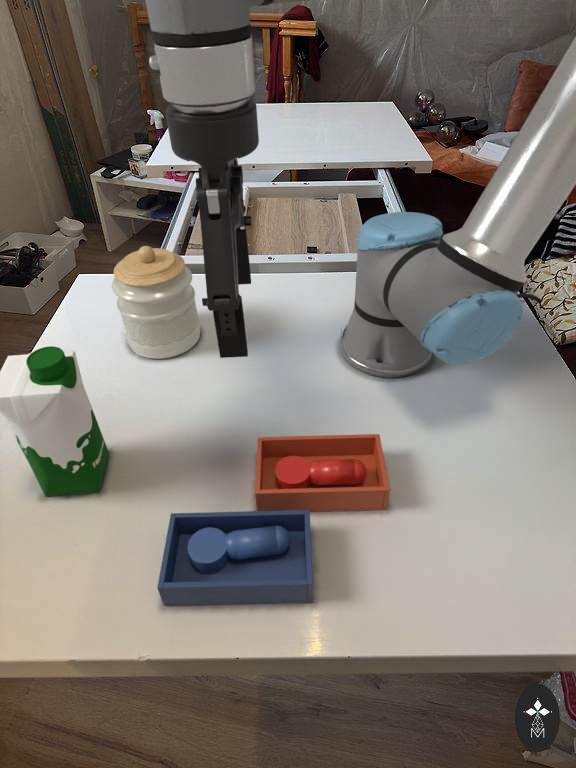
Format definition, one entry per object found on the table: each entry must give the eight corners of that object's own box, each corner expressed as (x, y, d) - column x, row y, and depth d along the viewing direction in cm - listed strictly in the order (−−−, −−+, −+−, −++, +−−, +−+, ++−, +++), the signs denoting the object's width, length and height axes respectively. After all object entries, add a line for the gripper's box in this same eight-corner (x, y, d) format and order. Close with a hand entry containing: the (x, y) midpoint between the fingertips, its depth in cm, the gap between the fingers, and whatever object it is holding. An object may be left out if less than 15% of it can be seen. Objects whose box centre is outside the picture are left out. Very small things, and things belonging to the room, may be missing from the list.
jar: (149, 371, 88) (125, 276, 76) (115, 335, 96) (88, 245, 84) (215, 340, 94) (202, 248, 82) (178, 309, 102) (161, 221, 90)
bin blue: (309, 529, 64) (309, 509, 62) (312, 602, 58) (313, 584, 55) (176, 532, 65) (170, 513, 62) (164, 606, 58) (157, 587, 55)
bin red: (376, 453, 73) (379, 433, 71) (386, 509, 66) (390, 490, 64) (259, 456, 73) (257, 437, 71) (257, 513, 66) (254, 493, 64)
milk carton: (106, 497, 69) (57, 381, 56) (35, 503, 69) (-32, 388, 55) (116, 446, 75) (75, 332, 62) (52, 452, 75) (-4, 338, 62)
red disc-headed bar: (363, 465, 71) (365, 449, 69) (367, 493, 68) (369, 477, 65) (276, 467, 71) (275, 451, 69) (275, 495, 68) (274, 480, 66)
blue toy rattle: (288, 529, 64) (287, 513, 62) (293, 563, 61) (292, 548, 58) (190, 541, 63) (186, 525, 61) (190, 576, 60) (185, 561, 58)
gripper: (182, 68, 53) (211, 260, 67) (135, 155, 34) (190, 395, 48) (258, 64, 53) (271, 257, 67) (252, 149, 34) (272, 391, 48)
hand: (237, 316), depth 58 cm, fingers open, 13 cm apart
